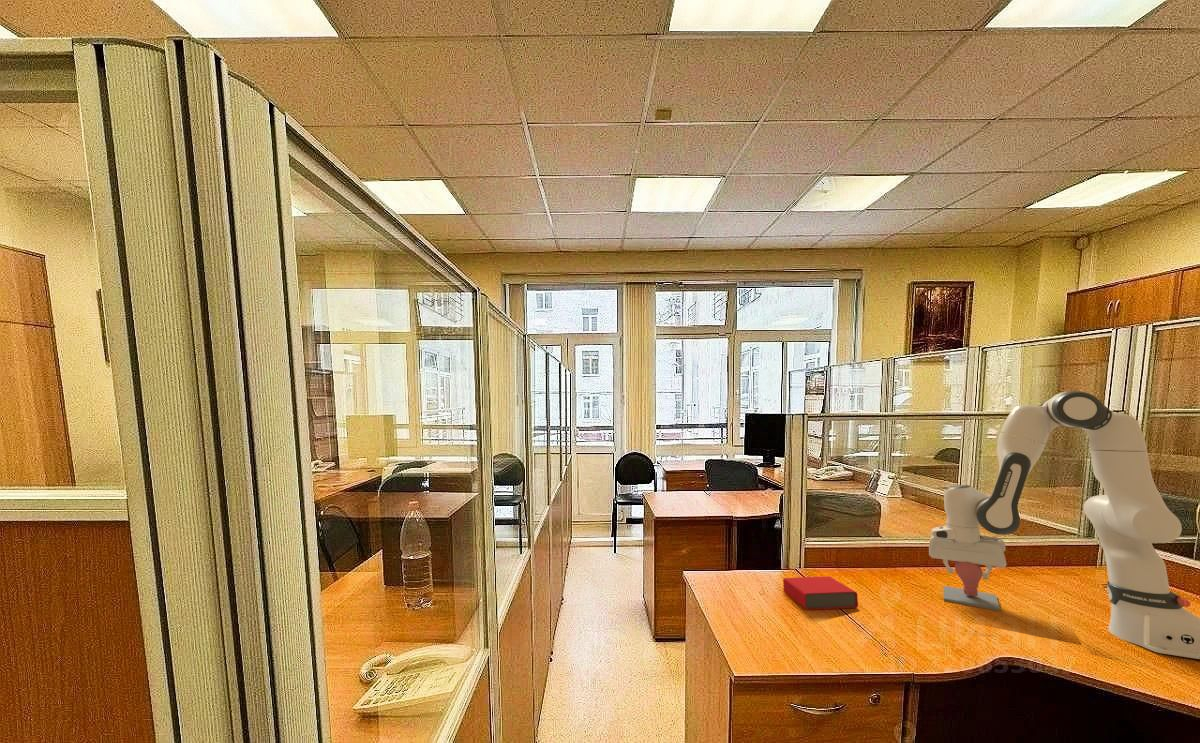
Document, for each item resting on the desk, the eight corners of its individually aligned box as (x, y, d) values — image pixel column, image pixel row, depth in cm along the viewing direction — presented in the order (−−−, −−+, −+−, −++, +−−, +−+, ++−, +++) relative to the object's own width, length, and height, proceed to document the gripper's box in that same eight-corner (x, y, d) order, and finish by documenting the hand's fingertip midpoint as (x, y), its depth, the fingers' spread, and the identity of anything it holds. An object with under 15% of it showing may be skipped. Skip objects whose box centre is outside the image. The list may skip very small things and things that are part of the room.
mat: (995, 597, 148) (995, 594, 148) (1000, 611, 137) (1000, 608, 137) (943, 587, 156) (943, 585, 157) (943, 600, 146) (943, 598, 146)
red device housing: (832, 590, 156) (831, 576, 156) (858, 607, 142) (857, 591, 142) (783, 592, 155) (783, 578, 155) (805, 609, 141) (804, 593, 141)
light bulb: (992, 600, 143) (986, 561, 145) (970, 600, 143) (964, 562, 145) (974, 592, 150) (968, 555, 152) (953, 593, 150) (948, 556, 152)
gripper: (1003, 536, 145) (1008, 579, 144) (926, 527, 158) (930, 567, 156) (1005, 540, 140) (1010, 585, 139) (926, 531, 153) (930, 572, 151)
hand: (967, 575), depth 148 cm, fingers open, 8 cm apart
